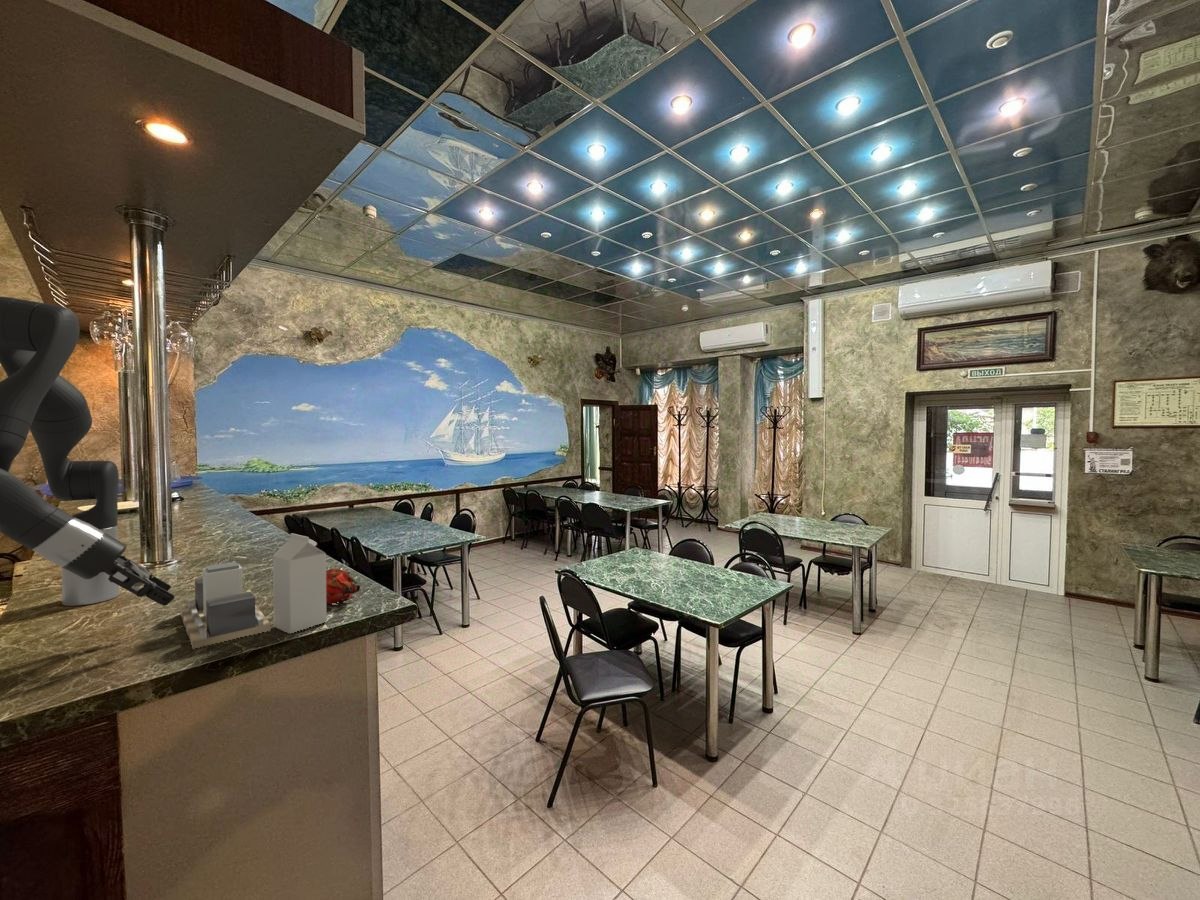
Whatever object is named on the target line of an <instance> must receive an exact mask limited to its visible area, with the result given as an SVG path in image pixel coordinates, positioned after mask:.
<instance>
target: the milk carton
mask: <svg viewBox="0 0 1200 900" xmlns="http://www.w3.org/2000/svg"><path fill="white" fill-rule="evenodd" d="M317 545H318V543H317V542H316V541H314V540H313V539H311V538H309V536H306V535H300V534H297V533H291V532H290V538H289V539H288V540H287V541H286V542H285V543H284V544H283V545H282V546H281V547H280V548H279V549H278V550H277V551H276V552H275V553H274V554H273V555H272V582H273V583H272V585H273V586H272V595H273V596H272V597H273V599H272V600H273V608H272V609H273V628H276V629H278V630H280V631H282V632H285V633H286V632H287V633H286V634H289V633H290V634H289V635H292V634H291V633H293V634H295V633H294V632H296V633H298V632H297V631H299V632H301V631H300V630H302V631H304V630H303V629H305V630H307V629H306V628H308V629H310V628H309V627H311V628H313V627H312V626H314V625H317V624H319V623H322V622H325V621H326V622H327V602H326V571H327V553H326V552H325V551H323V550H322V549H320V548H318V547H316V546H317ZM314 627H315V626H314Z"/></svg>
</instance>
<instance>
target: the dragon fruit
mask: <svg viewBox="0 0 1200 900" xmlns="http://www.w3.org/2000/svg"><path fill="white" fill-rule="evenodd" d="M356 584H358V582H356V581H355V578H354V577H353V576H352V575H350V572H349V571H348V570H343V569H340V568H338V567H334V568H328V569H326V604H329V605H331V604H332V603H336V604H340V603H337V602H339V601H340V602H341V601H345V599H346V600H347V601H348V600H350V599H351V598H352V597H353V594H355V593H358V592H359V591H360V589H361V585H360V584H359V585H356Z"/></svg>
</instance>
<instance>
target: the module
mask: <svg viewBox="0 0 1200 900" xmlns="http://www.w3.org/2000/svg"><path fill="white" fill-rule="evenodd" d="M202 577H203V614H204V618H205V620H206V623H207V616H206V600H207V599H212V598H217V597H223V596H228V595H233V594H239V593H244V589H243V588H244V587H243V585H244V584H243V581H244V580H243V567H242V566H241V565H240V563H237V561H232V562H231V561H230V562H226V563H219V564H218V563H217V564H212V565H206V567H205V568H202Z"/></svg>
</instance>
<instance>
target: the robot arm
mask: <svg viewBox="0 0 1200 900" xmlns="http://www.w3.org/2000/svg"><path fill="white" fill-rule="evenodd" d="M80 330H81V328H80V322H79V319H78V317H77V314H76V313H75V312H74V311H72V310H71V309H70V308H67V307H65V306H60V305H56V304H52V303H47V302H46V303H45V302H38V301H34V300H27V299H21V298H16V297H10V296H0V365H1V367H2V368H3V370H4V372H5V374H6V376H7V377H5V379H3V380H1V381H0V532H1V534H2V535H4V536H6V538H9V539H10V540H12V541H14V542H16V543H18V544H20V545H21V546H24V547H26V548H27V549H30V550H32V551H33V552H34V553H37V554H38V555H39V556H40V557H42V558H43V559H45V560H47V561H49V562H50V563H53V564H55V565H57V566H58V567H60V568H61V596H62V597H61V599H62V600H61V601H62V603H61V604H62V605H63V606H67V607H69V606H70V607H77V606H85V605H92V604H96V603H101V602H105V601H109V600H112V599H114V598H117V597H118V596H120V587H121V588H122V589H124V590H126V591H128V592H130V593H132V594H133V595H136V597H138V598H145V597H146V598H148V599H150V600H151V601H154V602H156V603H157V604H159V605H161V606H163V607H164V606H168V605H169V604H170V603H171V602H172V601H173V600H174V599H175V595H174V594H173V593H171V592H169V590H171V588H172V587H171V585H170V584H168V583H167V582H165V581H163V580H162V579H160V578H159V577H157V576H155V575H154V574H153V572H151V571H150V570H149V569H148V568H146V567H144V566H143V565H141V564H138V563H137V562H136V561H134V560H133V559H131V558H127V557H126V556H125V555H123V553H125V551H126V550H127V545H126V544H125V543H123V542H122V541H120V540H119V530H118V529H119V527H118V526H119V525H118V515H119V514H118V506H119V505H118V495H119V485H120V484H119V480H120V479H119V478H120V475H119V468H118V466H117V464H116V463H115V462H114V461H112V460H70V459H69V458H68V456H69V455H70V453H71V451H72V450H73V449H74V447H76V446H77V445H78V444H79V443H80V442H81V441H82V440H83V439H84V438H85V437H86V436H87V434H88V433H89V432H90V430H91V428H92V425H93V419H92V415H91V411H90V407H89V405H88V400H87V399H86V397H85V396H84V394H83V393H82V391H80V390H79V389H78V387H76V386H75V385H74V384H72V382H70V381H69V380H67V379H66V378H65V377H64V376H62V375H61V372H62V371H63V368H64V367H65V366H66V364H67V362H68V361H69V359H70V357H71V355H72V354H73V352H74V351H75V349H76V346H77V344H78V343H79V338H80ZM29 432H30V433H31V435H32V437H33V439H34V443H35V444H36V447H37V449H38V452H39V454H40V457H41V461H42V465H43V469H44V473H45V477H46V481H47V484H48V487H49V490H50V492H51V494H52V496H53V497H55V498H56V499H57V500H60V501H83V500H96V502H95V505H94V506H92V507H90V508H89V509H87V510H84V511H81V512H78V513H75V514H69V513H68V512H66V511H65V510H62V509H61V508H60V507H58V506H56V505H54V504H52V503H50V502H48V501H46V500H45V499H44V498H43V496H41V495H39V493H37V491H36V490H34V489H32V488H31V487H30V486H29V485H28V484H27V483H25V482H24V481H23V480H21V479H20V478H18V477H17V476H15V475H14V474H12V473H11V472H10V470H11V466H12V464H13V462H14V460H15V459H16V457H17V456H18V455H19V454H20V453H21V451H22V449H23V447H24V445H25V443H26V440H27V438H28V435H29ZM141 586H142V587H141ZM140 587H141V588H140Z"/></svg>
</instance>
